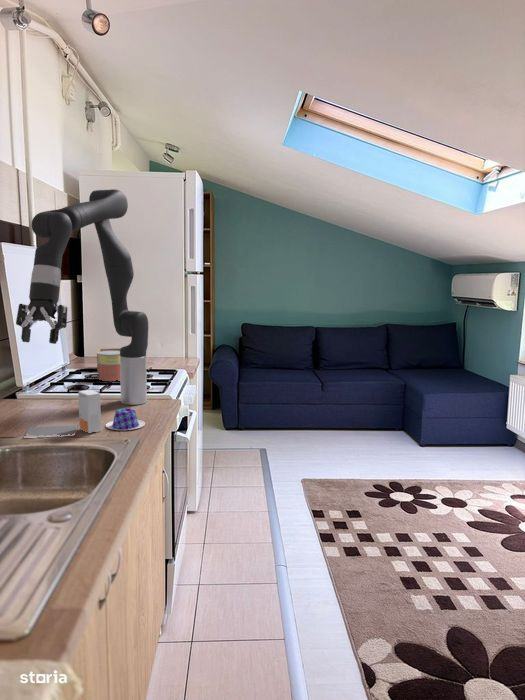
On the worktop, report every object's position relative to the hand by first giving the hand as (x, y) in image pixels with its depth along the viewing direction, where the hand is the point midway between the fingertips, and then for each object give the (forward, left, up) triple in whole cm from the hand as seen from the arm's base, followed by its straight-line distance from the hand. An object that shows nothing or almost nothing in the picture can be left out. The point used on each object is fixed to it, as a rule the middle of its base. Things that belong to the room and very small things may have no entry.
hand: (39, 342), depth 148 cm
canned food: (-84, +16, -29) cm, 90 cm away
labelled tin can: (-108, +20, -28) cm, 114 cm away
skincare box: (-10, +12, -29) cm, 33 cm away
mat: (-10, +1, -28) cm, 30 cm away
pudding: (-14, +22, -29) cm, 39 cm away
